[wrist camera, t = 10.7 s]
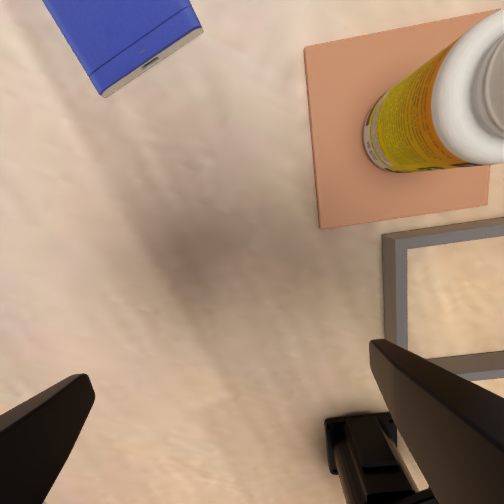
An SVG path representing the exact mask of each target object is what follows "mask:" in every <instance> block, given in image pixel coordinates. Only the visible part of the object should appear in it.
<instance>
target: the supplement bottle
mask: <svg viewBox="0 0 504 504" xmlns="http://www.w3.org/2000/svg"><path fill="white" fill-rule="evenodd" d="M364 144H365V148H366V151H367V153H368V155H369V157H370V158H371V159H372V161H373V162H374V163H375V164H376V165H378V166H379V167H380V168H382V169H384V170H386V171H389V172H394V173H411V172H421V171H432V170H442V169H452V168H461V167H474V166H483V165H493V164H500V163H504V9H502V10H500V11H498V12H496V13H493V14H491V15H490V16H488V17H486V18H485V19H483V20H482V21H480V22H479V23H477V24H476V25H475V26H473V27H472V28H470V29H469V30H468V31H467V32H465V33H464V34H463V35H461V36H460V37H459V38H457V39H456V40H455V41H453V42H452V43H451V44H449V45H448V46H447V47H445V48H444V49H443V50H441V51H440V52H438V53H437V54H436V55H434V56H433V57H432V58H431V59H429V60H428V61H427V62H425V63H424V64H422V65H421V66H420V67H418V68H417V69H416V70H414V71H413V72H412V73H410V74H409V75H408V76H406V77H405V78H404V79H402V80H401V81H400V82H398V83H397V84H396V85H394V86H393V87H392V88H391V89H389V90H388V91H387V92H385V93H384V94H383V95H382V96H381V97H380V98H379V99H378V100H377V101H376V102H375V104H374V105H373V107H372V108H371V110H370V112H369V114H368V116H367V119H366V122H365V126H364Z"/></svg>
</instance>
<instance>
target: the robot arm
mask: <svg viewBox="0 0 504 504" xmlns="http://www.w3.org/2000/svg"><path fill="white" fill-rule="evenodd" d="M369 354H370V367H371V370H372V373H373V375H374V378H375V380H376V382H377V384H378V387H379V389H380V391H381V394H382V396H383V398H384V400H385V403H386V405H387V407H388V410H389V412H390V413H386V414H375V415H365V416H354V417H344V418H334V419H327V420H326V421H325V423H324V424H325V434H326V443H327V453H328V462H329V469H330V472H331V474H333V475H339V478H340V481H341V485H342V489H343V492H344V496H345V500H346V503H347V504H504V398H502V397H500V396H498V395H496V394H494V393H492V392H490V391H488V390H486V389H484V388H482V387H480V386H478V385H476V384H474V383H472V382H470V381H468V380H466V379H464V378H462V377H460V376H458V375H456V374H454V373H452V372H450V371H448V370H446V369H444V368H442V367H440V366H438V365H436V364H434V363H432V362H430V361H428V360H426V359H424V358H422V357H420V356H418V355H416V354H414V353H412V352H410V351H408V350H406V349H404V348H402V347H400V346H398V345H396V344H394V343H392V342H390V341H388V340H386V339H375V340H371V341H370V342H369ZM94 401H95V392H94V390H93V387H92V384H91V382H90V379H89V376H88V375H87V374H84V373H83V374H75V375H71V376H69V377H67V378H66V379H64V380H62V381H60V382H59V383H57V384H55V385H53V386H52V387H50V388H48V389H46V390H45V391H43V392H41V393H39V394H37V395H36V396H34V397H32V398H30V399H29V400H27V401H25V402H23V403H22V404H20V405H18V406H16V407H14V408H13V409H11V410H9V411H7V412H6V413H4V414H2V415H0V504H42V503H43V502H44V500H45V498H46V496H47V495H48V493H49V491H50V489H51V487H52V486H53V484H54V482H55V480H56V479H57V477H58V475H59V473H60V471H61V470H62V468H63V466H64V464H65V462H66V460H67V459H68V457H69V455H70V453H71V451H72V449H73V447H74V444H75V442H76V440H77V438H78V436H79V434H80V432H81V429H82V427H83V425H84V423H85V421H86V419H87V416H88V414H89V412H90V410H91V408H92V406H93V404H94ZM397 429H398V431H399V432H400V434H401V436H402V438H403V440H404V441H405V443H406V445H407V447H408V449H409V450H410V452H411V454H412V456H413V458H414V459H415V461H416V463H417V465H418V466H419V468H420V470H421V472H422V474H423V475H424V477H425V479H426V481H427V483H428V484H429V486H428V487H429V488H428V489H425V490H422V491H420V492H419V490H418V488H417V486H416V484H415V482H414V480H413V478H412V476H411V474H410V472H409V471H408V469H407V467H406V465H405V463H404V461H403V459H402V457H401V455H400V453H399V451H398V449H397Z"/></svg>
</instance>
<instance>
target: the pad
mask: <svg viewBox="0 0 504 504" xmlns="http://www.w3.org/2000/svg"><path fill="white" fill-rule="evenodd" d="M500 10H501V9H496V10H491V11H486V12H481V13H476V14H470V15H465V16H460V17H455V18H450V19H445V20H440V21H434V22H429V23H424V24H419V25H414V26H409V27H404V28H398V29H393V30H388V31H383V32H378V33H373V34H368V35H363V36H357V37H352V38H347V39H342V40H337V41H332V42H327V43H321V44H316V45H311V46H306V47H305V48H304V59H305V70H306V81H307V92H308V103H309V114H310V126H311V137H312V148H313V159H314V170H315V181H316V192H317V203H318V214H319V225H320V229H327V228H334V227H341V226H347V225H354V224H361V223H368V222H375V221H382V220H388V219H395V218H402V217H409V216H416V215H423V214H430V213H436V212H443V211H450V210H457V209H464V208H471V207H478V206H484V205H487V204H488V190H489V176H490V165H483V166H474V167H461V168H452V169H442V170H432V171H421V172H411V173H394V172H389V171H386V170H384V169H382V168H380V167H379V166H378V165H376V164H375V163H374V162H373V161H372V159H371V158H370V157H369V155H368V153H367V151H366V148H365V144H364V126H365V122H366V119H367V116H368V114H369V112H370V110H371V108H372V107H373V105H374V104H375V102H376V101H377V100H378V99H379V98H380V97H381V96H382V95H383V94H384V93H385V92H387V91H388V90H389V89H391V88H392V87H393V86H394V85H396V84H397V83H398V82H400V81H401V80H402V79H404V78H405V77H406V76H408V75H409V74H410V73H412V72H413V71H414V70H416V69H417V68H418V67H420V66H421V65H422V64H424V63H425V62H427V61H428V60H429V59H431V58H432V57H433V56H434V55H436V54H437V53H438V52H440V51H441V50H443V49H444V48H445V47H447V46H448V45H449V44H451V43H452V42H453V41H455V40H456V39H457V38H459V37H460V36H461V35H463V34H464V33H465V32H467V31H468V30H469V29H470V28H472V27H473V26H475V25H476V24H477V23H479V22H480V21H482V20H483V19H485V18H486V17H488V16H490V15H491V14H493V13H496V12H498V11H500Z"/></svg>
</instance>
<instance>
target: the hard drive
mask: <svg viewBox="0 0 504 504" xmlns="http://www.w3.org/2000/svg"><path fill="white" fill-rule="evenodd" d="M42 1H43V2H44V4H45V6H46V7H47V9H48V11H49V12H50V14H51V15H52V17H53V19H54V20H55V22H56V24H57V25H58V27H59V29H60V30H61V32H62V34H63V35H64V37H65V39H66V40H67V42H68V44H69V45H70V47H71V48H72V50H73V52H74V53H75V55H76V57H77V58H78V60H79V62H80V63H81V65H82V67H83V68H84V70H85V71H86V73H87V75H88V76H89V78H90V80H91V82H92V83H93V85H94V87H95V88H96V90H97V91H98V93H99V94H100V95H101V96H103V97H105V98H106V97H108V96H109V95H111V94H112V93H114V92H115V91H117V90H118V89H119V88H121V87H122V86H124V85H125V84H127V83H128V82H130V81H131V80H133V79H134V78H136V77H137V76H139V75H140V74H142V73H143V72H145V71H146V70H148V69H149V68H151V67H152V66H154V65H155V64H157V63H158V62H159V61H161V60H162V59H164V58H165V57H167V56H168V55H170V54H171V53H173V52H174V51H176V50H177V49H179V48H180V47H182V46H183V45H185V44H186V43H188V42H189V41H191V40H192V39H194V38H195V37H197V36H198V35H200V34H201V33H203V29H202V26H201V24H200V22H199V20H198V18H197V16H196V14H195V12H194V10H193V8H192V5H191V3H190V1H189V0H42Z"/></svg>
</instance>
